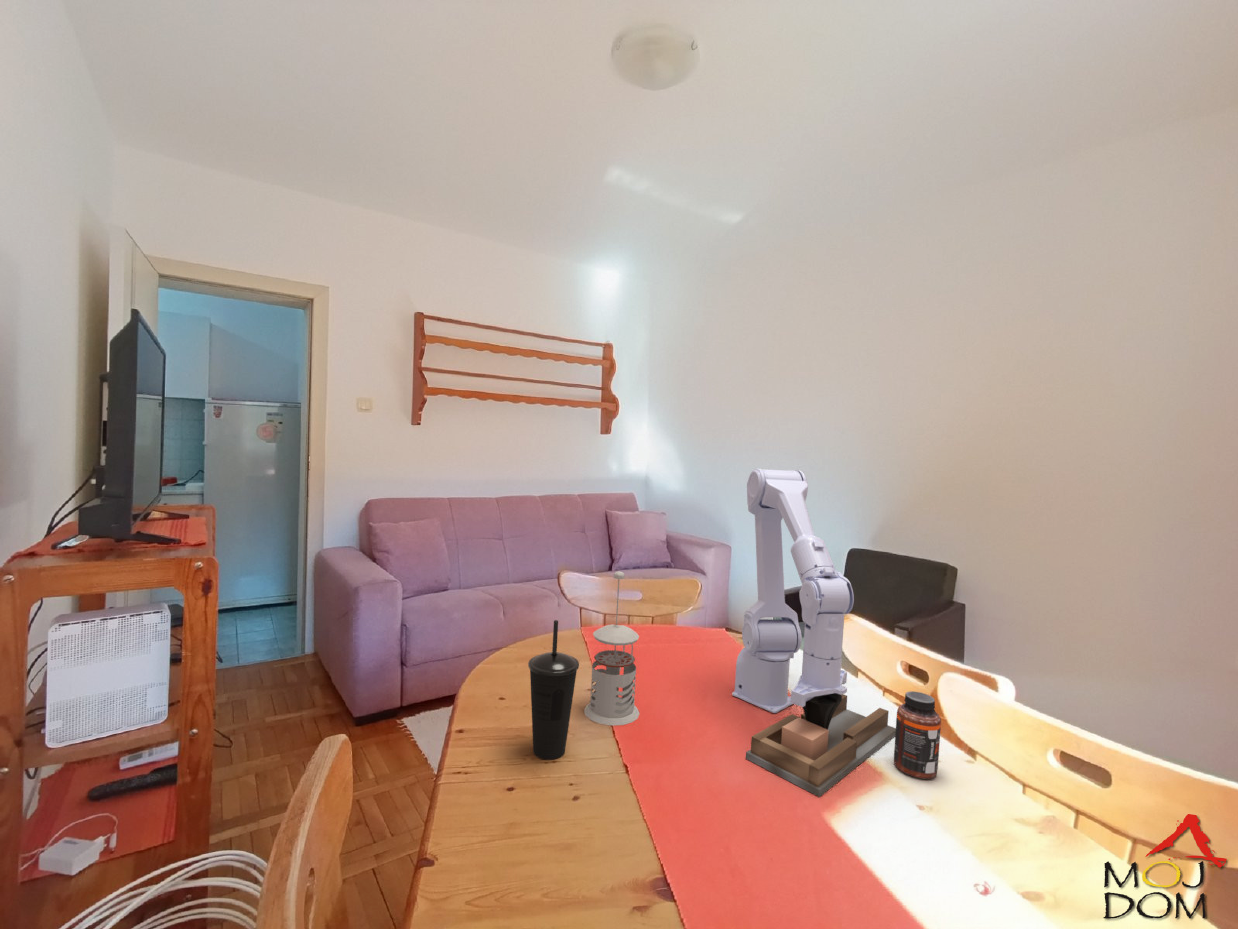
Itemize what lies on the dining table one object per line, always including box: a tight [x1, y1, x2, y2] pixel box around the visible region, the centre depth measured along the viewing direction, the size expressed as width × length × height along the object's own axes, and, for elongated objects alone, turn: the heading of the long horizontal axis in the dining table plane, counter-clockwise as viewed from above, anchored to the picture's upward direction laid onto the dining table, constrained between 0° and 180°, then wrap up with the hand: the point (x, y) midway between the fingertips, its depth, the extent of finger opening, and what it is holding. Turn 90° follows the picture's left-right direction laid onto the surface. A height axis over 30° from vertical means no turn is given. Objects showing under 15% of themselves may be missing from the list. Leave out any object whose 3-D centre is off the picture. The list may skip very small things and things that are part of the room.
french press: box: [583, 570, 640, 727], centre depth 99 cm, size 10×12×25 cm
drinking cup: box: [527, 619, 580, 761], centre depth 85 cm, size 8×8×20 cm
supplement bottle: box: [893, 690, 942, 780], centre depth 85 cm, size 6×6×11 cm
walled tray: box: [745, 694, 896, 798], centre depth 91 cm, size 12×28×4 cm, turn 133°
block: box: [781, 717, 829, 761], centre depth 86 cm, size 5×5×4 cm
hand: (816, 737), depth 88 cm, fingers closed
